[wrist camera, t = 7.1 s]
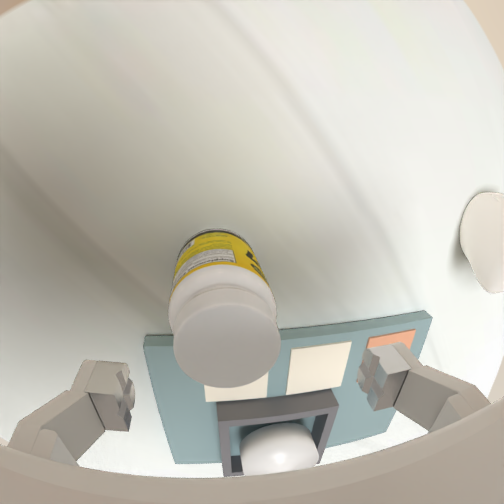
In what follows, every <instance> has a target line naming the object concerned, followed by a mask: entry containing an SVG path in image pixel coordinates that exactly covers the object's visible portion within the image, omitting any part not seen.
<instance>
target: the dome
mask: <svg viewBox="0 0 504 504" xmlns="http://www.w3.org/2000/svg"><path fill="white" fill-rule="evenodd" d="M239 450H240V456H241V462H242V468H243V473H244V475H245V476H252V475H263V474H272V473H279V472H287V471H293V470H300V469H305V468H311V467H314V466H315V465H316V463H317V462H318V460H319V454H318V451H317V449H316V446H315V443H314V441H313V438H312V435H311V433H310V431H309V429H308V428H307V427H305V426H303V425H300V424H296V423H278V424H272V425H268V426H265V427H262V428H259V429H257V430H255V431H253V432H251V433H250V434H248V435H247V436H246V437H245V438H244V439H243V440H242V441H241V443H240V446H239Z"/></svg>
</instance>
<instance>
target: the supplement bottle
mask: <svg viewBox="0 0 504 504" xmlns="http://www.w3.org/2000/svg"><path fill="white" fill-rule="evenodd" d="M276 317H277V308H276V303H275V298H274V296H273V293H272V291H271V289H270V287H269V285H268V283H267V281H266V278H265V276H264V274H263V272H262V270H261V268H260V266H259V263H258V261H257V259H256V257H255V255H254V253H253V251H252V249H251V247H250V246H249V244H248V243H247V242H246V241H245V240H244V239H243V238H242V237H241V236H239V235H237V234H236V233H234V232H231V231H228V230H224V229H210V230H205V231H202V232H200V233H198V234H196V235H194V236H193V237H191V238H190V239H189V240H188V241H187V242H186V243H185V244H184V246H183V247H182V249H181V251H180V253H179V256H178V259H177V264H176V268H175V274H174V279H173V284H172V290H171V295H170V300H169V308H168V318H169V324H170V327H171V330H172V332H173V334H174V340H173V350H174V355H175V358H176V361H177V363H178V365H179V366H180V368H181V369H182V370H183V372H184V373H185V374H187V375H188V376H189V377H190V378H192V379H193V380H195V381H197V382H199V383H201V384H204V385H207V386H210V387H216V388H235V387H240V386H244V385H247V384H250V383H252V382H254V381H256V380H258V379H260V378H261V377H262V376H264V375H265V374H266V373H267V372H268V371H269V370H270V369H271V368H272V367H273V365H274V364H275V362H276V361H277V359H278V356H279V353H280V349H281V338H280V333H279V330H278V327H277V323H276Z"/></svg>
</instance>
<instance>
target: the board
mask: <svg viewBox="0 0 504 504" xmlns="http://www.w3.org/2000/svg"><path fill="white" fill-rule="evenodd" d="M432 318H433V317H431V316H430V315H429V314H428V313H427V312H426V311H420V312H414V313H409V314H403V315H397V316H390V317H384V318H377V319H370V320H363V321H356V322H349V323H341V324H333V325H324V326H315V327H305V328H295V329H284V330H279V333H280V338H281V349H280V353H279V356H278V359H277V361H276V362H275V364H274V365H273V367H272V368H271V369H270V370H269V371H268V372H267V373H266V374H265V375H264V376H262V377H261V378H260V379H258V380H256V381H254V382H252V383H250V384H247V385H244V386H240V387H235V388H216V387H210V386H207V385H204V384H201V383H199V382H197V381H195V380H193V379H192V378H190V377H189V376H188V375H187V374H185V373H184V372H183V370H182V369H181V368H180V366H179V365H178V363H177V361H176V358H175V355H174V350H173V340H174V336H145V340H144V345H143V348H144V353H145V357H146V362H147V366H148V371H149V375H150V379H151V383H152V387H153V391H154V395H155V399H156V402H157V406H158V410H159V413H160V417H161V420H162V424H163V427H164V430H165V434H166V437H167V440H168V443H169V446H170V450H171V453H172V456H173V459H174V461H175V464H204V463H222V467H223V475H224V477H229V476H241V475H244V473H243V468H242V462H241V456H240V450H239V446H240V443H241V441H242V440H243V439H244V438H245V437H246V436H247V435H248V434H250V433H251V432H253V431H255V430H257V429H259V428H262V427H265V426H268V425H272V424H278V423H296V424H300V425H303V426H305V427H307V428H308V429H309V431H310V433H311V435H312V438H313V441H314V443H315V446H316V449H317V451H318V454H319V460H318V462H317V463H316V464H319V463H320V461H321V458H322V455H323V452H324V450H325V448H329V447H333V446H337V445H341V444H345V443H349V442H353V441H357V440H360V439H364V438H367V437H371V436H374V435H377V434H381V433H384V432H386V430H387V428H388V426H389V424H390V422H391V420H392V418H393V416H394V414H395V412H396V409H394V408H393V407H390V408H386V409H382V410H378V411H373V410H372V408H371V406H370V405H369V403H368V401H367V395H368V394H367V393H365V392H363V391H361V389H360V387H359V384H358V380H357V373H358V369H359V366H360V365H361V364H362V363H363V362H364V361H363V359H362V354H363V351H364V350H365V349H366V348H372V347H377V346H383V345H389V344H392V343H396V342H402V343H404V344H405V345H406V346H407V348H408V349H409V350H410V351H411V352H412V353H413V355H414V356H415V357H416V358H417V359H418V358H419V356H420V353H421V350H422V348H423V345H424V342H425V339H426V336H427V333H428V330H429V327H430V324H431V321H432Z"/></svg>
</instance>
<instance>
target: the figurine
mask: <svg viewBox="0 0 504 504" xmlns="http://www.w3.org/2000/svg"><path fill="white" fill-rule="evenodd" d="M460 245H461V248H462V251H463V252H464V254H465V256H466V257H467V259H468V260H469V263H470V265H471V268H472V270H473V272H474V274H475V276H476V278H477V280H478V282H479V283H480V285H481V286H482V287H483V289H484V290H486V291H487V292H489V293H500V292H504V194H501V193H494V192H485V193H480V194H478V195H476V196H475V197H474V198H473V199H472V200H471V201H470V202H469V204H468V206H467V207H466V209H465V212H464V214H463V217H462V221H461V225H460Z"/></svg>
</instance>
